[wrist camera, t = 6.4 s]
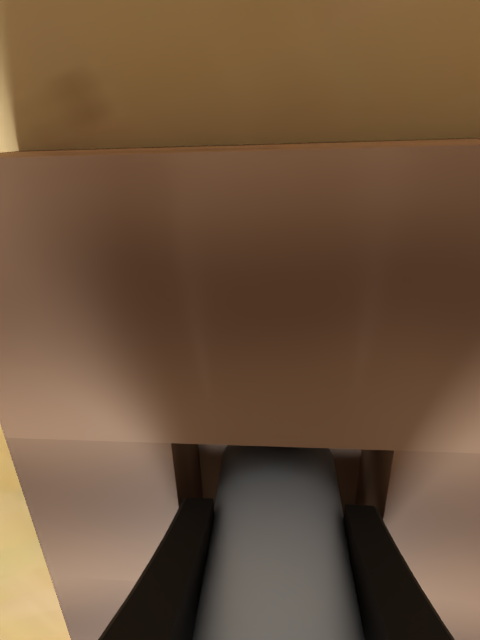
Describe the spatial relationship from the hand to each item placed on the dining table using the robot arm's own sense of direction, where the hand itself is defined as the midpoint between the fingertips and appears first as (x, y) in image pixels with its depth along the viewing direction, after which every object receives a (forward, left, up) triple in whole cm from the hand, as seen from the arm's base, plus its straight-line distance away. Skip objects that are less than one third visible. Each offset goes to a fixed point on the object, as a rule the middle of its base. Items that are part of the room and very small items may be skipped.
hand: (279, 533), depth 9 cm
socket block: (0, 0, -3) cm, 3 cm away
